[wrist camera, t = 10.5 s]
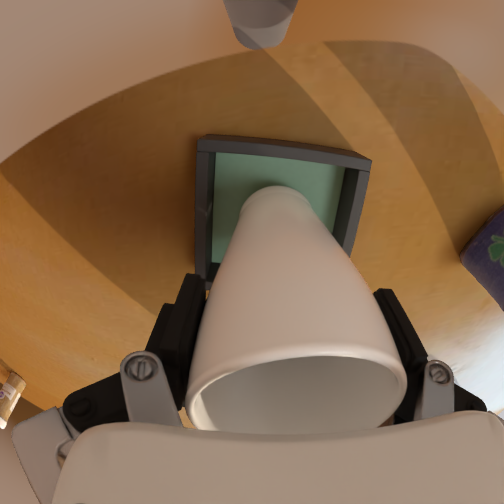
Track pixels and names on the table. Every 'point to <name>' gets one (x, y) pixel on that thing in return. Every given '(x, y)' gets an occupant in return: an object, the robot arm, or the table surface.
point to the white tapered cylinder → (290, 331)
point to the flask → (488, 256)
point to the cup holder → (272, 174)
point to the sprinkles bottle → (10, 396)
